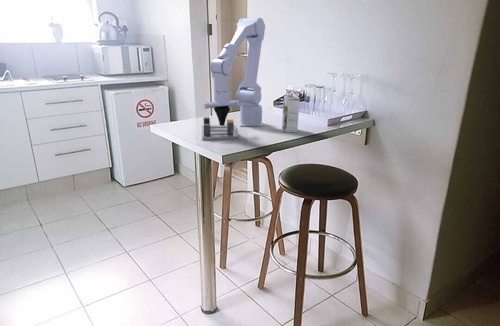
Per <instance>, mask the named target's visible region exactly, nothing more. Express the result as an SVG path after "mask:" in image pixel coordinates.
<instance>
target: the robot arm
mask: <svg viewBox="0 0 500 326" xmlns="http://www.w3.org/2000/svg"><path fill="white" fill-rule="evenodd" d="M265 31H266V24H265V21H264V19H263V18H262V17H252V18H250V17H248V18H244V17H241V18H240V19H239V20H238V21H237V24H236V31H235V34H234V35H233V37H232V39H231V41H230V43H226V44H225V45H224V46H223V48H222V50H221V51H220V53H219V55H218V56H217V58H214V59H213V60H211V63H210V66H209V71H210V72H211V75H212V76H211V77H212V79H213V98H214V99H213V101H209V102H203V103H202V104H203V105H202V106H203V109H204V110H206V109H213V110H214V112H215V114H216V117H217V119H218V125H221V126H224V125H226V121H227V118H228V117H227V116H228V114H229V112H230V111H231V109H230V107H240V120H239V121H238V124H239V126H240V127H262V126H263V123H262V122H263V107H262V104H260V102H261V101H262V87H261V86H260V85H259V84H258V82H257V79H258V72H259V65H260V59H261V51H262V50H261V49H262V43H263V41H264V38H265ZM245 40H246V42H248V51H247V56H246V57H247V58H246V64H245V65H246V66H245V74H244V80H243V81H242V82H241V83H240V84H239V85H238V90H237V91H236V93H235V94H236V95H235V97H236V100H230V98H229V96H230V92H229V91H230V90H229V87H230V86H229V80H230V79H229V74H231V73H232V68H233V64H234V61H235V59H236V57H237V56H238V54H239V50H238V49H239V47H240V46H241V45H242V43H243V42H244V41H245Z"/></svg>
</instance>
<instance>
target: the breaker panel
mask: <svg viewBox="0 0 500 326" xmlns="http://www.w3.org/2000/svg"><path fill="white" fill-rule="evenodd" d="M228 140H229V141H231V140H232V141H234V140H240V135H239V131H238V130H237V125H235V124H234V131H228V130H227V124H225V125H224V126H221V125H219V124H218V125H211V122H210V116H208V117H207V116H205V117H203V125H201V141H228Z"/></svg>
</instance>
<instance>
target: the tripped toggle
mask: <svg viewBox="0 0 500 326" xmlns="http://www.w3.org/2000/svg"><path fill="white" fill-rule="evenodd" d="M226 125H227V130H228V131H234V125H235V123H234V118H226Z"/></svg>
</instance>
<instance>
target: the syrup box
mask: <svg viewBox="0 0 500 326" xmlns="http://www.w3.org/2000/svg"><path fill="white" fill-rule="evenodd" d="M300 101H301V99H300V97H299V96H298V95H296V94H286V95H283V103H282V104H283V108H282V125H281V129H282V131H283V133H298V127H299V112H300Z"/></svg>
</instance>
